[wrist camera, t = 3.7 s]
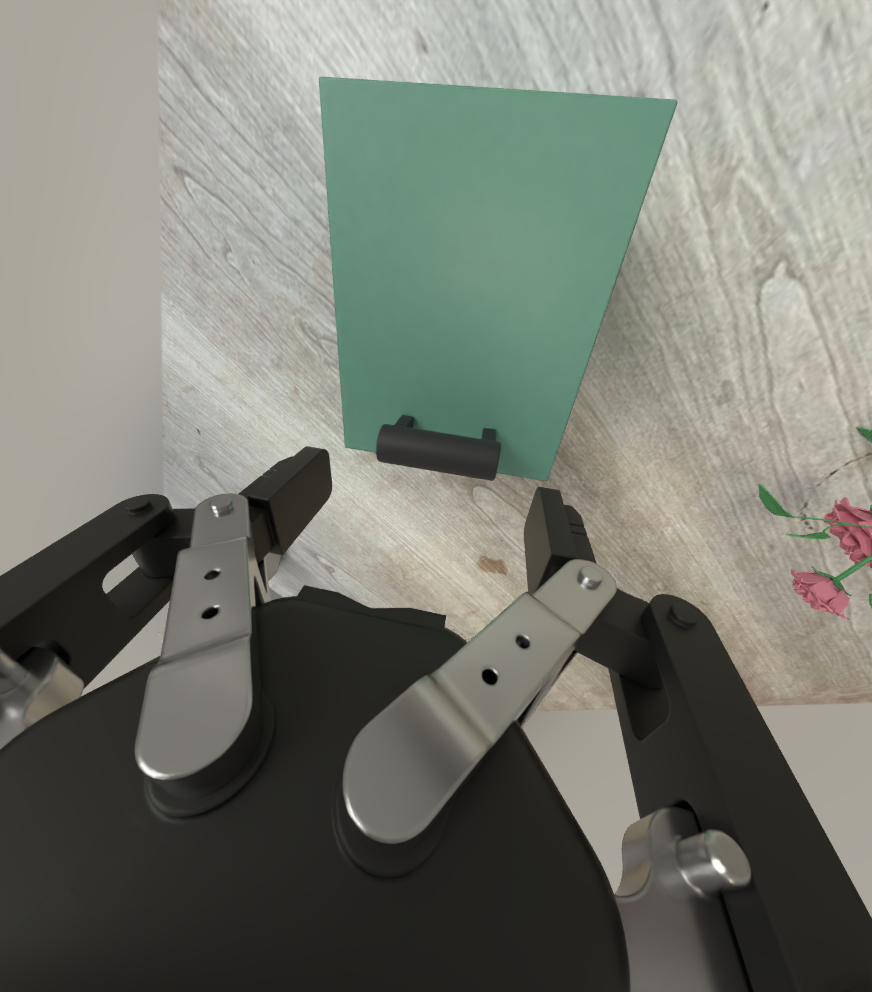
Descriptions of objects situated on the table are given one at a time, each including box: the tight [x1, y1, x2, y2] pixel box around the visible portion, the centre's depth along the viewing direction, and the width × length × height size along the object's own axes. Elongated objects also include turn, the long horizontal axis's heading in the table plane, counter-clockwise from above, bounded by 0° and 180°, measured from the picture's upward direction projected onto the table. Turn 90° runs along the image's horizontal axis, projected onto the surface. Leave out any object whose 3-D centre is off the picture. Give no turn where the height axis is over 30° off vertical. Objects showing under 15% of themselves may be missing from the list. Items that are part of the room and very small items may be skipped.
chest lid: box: [319, 77, 677, 481], centre depth 13 cm, size 14×12×5 cm
